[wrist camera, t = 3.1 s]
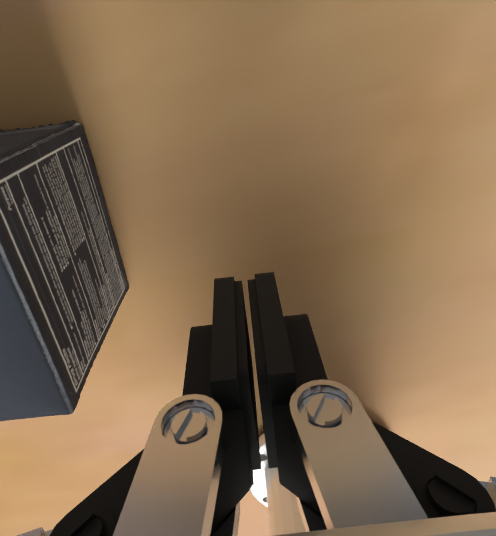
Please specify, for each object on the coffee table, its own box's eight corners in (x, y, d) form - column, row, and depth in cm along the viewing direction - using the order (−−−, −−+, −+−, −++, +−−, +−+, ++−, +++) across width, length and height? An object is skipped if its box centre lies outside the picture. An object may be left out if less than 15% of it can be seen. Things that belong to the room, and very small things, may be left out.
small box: (-39, 133, 21) (-246, 191, 12) (83, 118, 21) (-30, 164, 12) (33, 301, 26) (-74, 435, 17) (132, 289, 26) (80, 417, 17)
